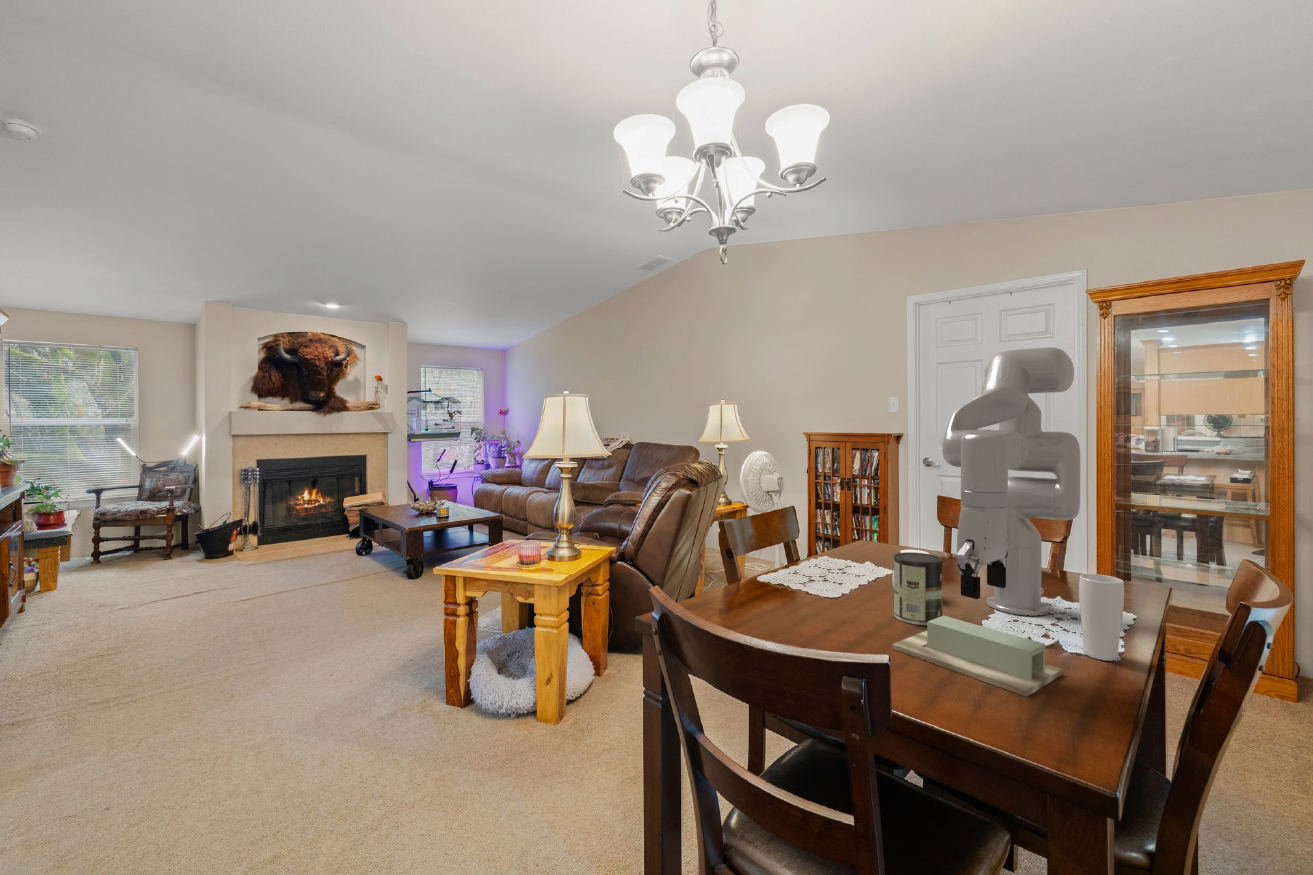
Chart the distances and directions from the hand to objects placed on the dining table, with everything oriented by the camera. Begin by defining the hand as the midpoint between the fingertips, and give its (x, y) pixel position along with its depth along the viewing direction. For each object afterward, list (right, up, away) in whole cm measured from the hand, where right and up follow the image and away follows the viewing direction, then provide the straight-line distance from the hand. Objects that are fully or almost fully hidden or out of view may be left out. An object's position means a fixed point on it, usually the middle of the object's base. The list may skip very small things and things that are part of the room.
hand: (983, 591), depth 105 cm
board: (-1, -13, +1) cm, 14 cm away
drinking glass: (+24, -13, +3) cm, 28 cm away
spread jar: (+5, -13, +38) cm, 41 cm away
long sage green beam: (0, -12, 0) cm, 12 cm away
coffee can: (-1, -13, +25) cm, 28 cm away
